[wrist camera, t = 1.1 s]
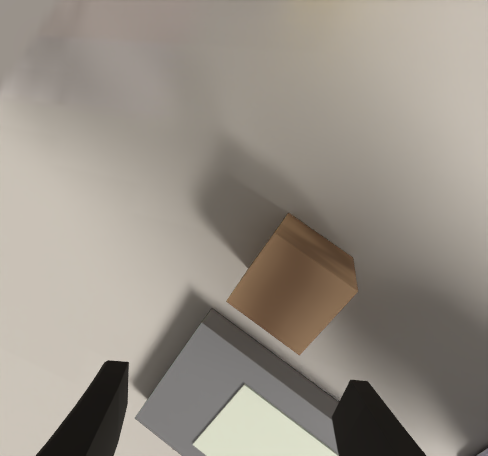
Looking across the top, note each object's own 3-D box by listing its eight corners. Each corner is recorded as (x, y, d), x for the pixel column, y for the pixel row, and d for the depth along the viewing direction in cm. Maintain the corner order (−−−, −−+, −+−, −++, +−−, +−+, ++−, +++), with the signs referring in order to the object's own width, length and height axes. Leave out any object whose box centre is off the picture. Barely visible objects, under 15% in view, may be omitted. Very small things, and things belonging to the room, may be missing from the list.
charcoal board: (414, 458, 23) (422, 489, 21) (314, 530, 27) (312, 561, 25) (211, 308, 24) (200, 323, 22) (147, 400, 28) (133, 419, 26)
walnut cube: (353, 257, 20) (358, 291, 16) (306, 310, 22) (299, 355, 18) (288, 212, 21) (275, 232, 16) (248, 268, 23) (226, 301, 18)
